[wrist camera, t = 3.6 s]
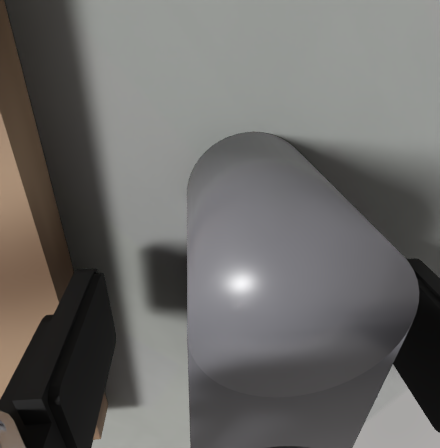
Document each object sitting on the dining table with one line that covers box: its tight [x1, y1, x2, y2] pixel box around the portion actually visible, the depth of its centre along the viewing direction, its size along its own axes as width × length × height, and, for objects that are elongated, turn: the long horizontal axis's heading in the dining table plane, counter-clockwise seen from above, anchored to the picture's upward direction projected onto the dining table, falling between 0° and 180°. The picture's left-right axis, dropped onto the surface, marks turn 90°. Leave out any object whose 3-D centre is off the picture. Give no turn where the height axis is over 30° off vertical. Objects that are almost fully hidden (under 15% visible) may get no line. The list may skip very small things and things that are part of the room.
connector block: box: [187, 132, 419, 448], centre depth 10 cm, size 12×4×6 cm, turn 178°
